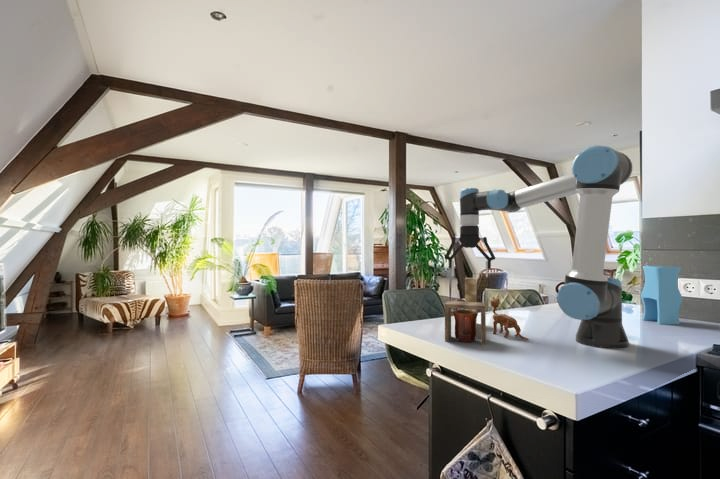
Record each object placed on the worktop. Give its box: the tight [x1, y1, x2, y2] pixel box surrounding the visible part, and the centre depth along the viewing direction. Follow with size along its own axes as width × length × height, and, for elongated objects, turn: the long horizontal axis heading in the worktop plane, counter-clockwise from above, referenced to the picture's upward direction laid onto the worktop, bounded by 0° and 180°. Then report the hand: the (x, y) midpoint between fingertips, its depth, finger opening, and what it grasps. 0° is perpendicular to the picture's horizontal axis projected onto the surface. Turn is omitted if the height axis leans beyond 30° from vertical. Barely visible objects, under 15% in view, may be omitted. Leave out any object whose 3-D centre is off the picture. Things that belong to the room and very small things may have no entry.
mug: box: [452, 309, 479, 343], centre depth 129 cm, size 12×9×10 cm
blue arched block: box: [640, 265, 683, 325], centre depth 158 cm, size 10×10×25 cm
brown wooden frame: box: [444, 300, 487, 346], centre depth 130 cm, size 13×8×13 cm, turn 69°
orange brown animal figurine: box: [490, 297, 529, 341], centre depth 135 cm, size 18×7×14 cm, turn 23°
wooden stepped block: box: [464, 277, 478, 325], centre depth 149 cm, size 4×25×20 cm, turn 160°
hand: (469, 276), depth 152 cm, fingers open, 13 cm apart
